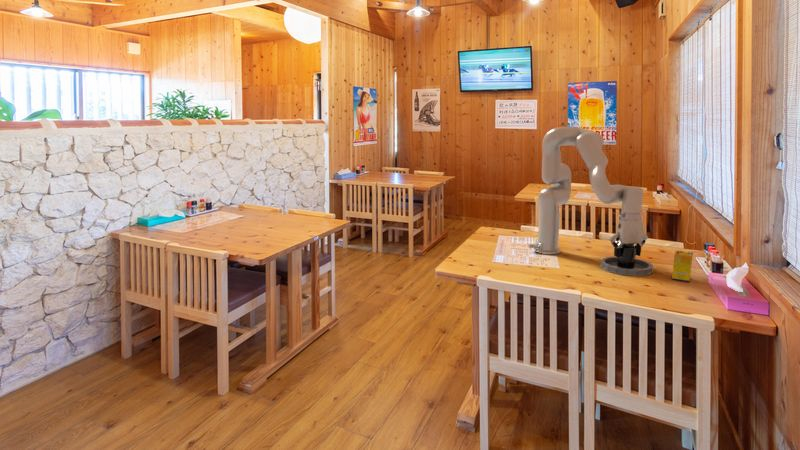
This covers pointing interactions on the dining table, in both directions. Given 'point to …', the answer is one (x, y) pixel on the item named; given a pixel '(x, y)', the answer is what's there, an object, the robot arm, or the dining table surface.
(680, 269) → the supplement box
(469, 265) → the dining table surface
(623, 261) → the supplement bottle
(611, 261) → the round tray
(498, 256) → the dining table surface
